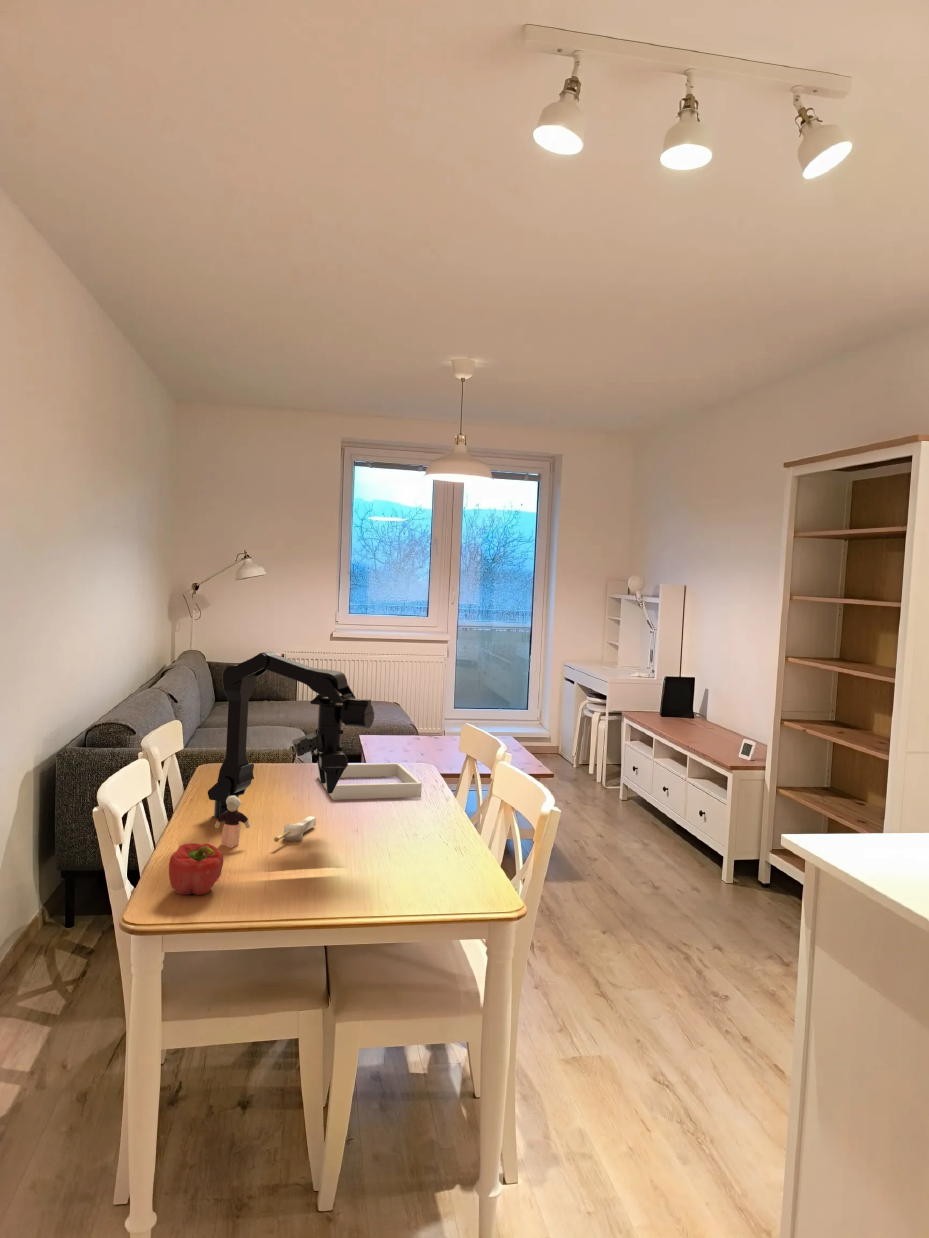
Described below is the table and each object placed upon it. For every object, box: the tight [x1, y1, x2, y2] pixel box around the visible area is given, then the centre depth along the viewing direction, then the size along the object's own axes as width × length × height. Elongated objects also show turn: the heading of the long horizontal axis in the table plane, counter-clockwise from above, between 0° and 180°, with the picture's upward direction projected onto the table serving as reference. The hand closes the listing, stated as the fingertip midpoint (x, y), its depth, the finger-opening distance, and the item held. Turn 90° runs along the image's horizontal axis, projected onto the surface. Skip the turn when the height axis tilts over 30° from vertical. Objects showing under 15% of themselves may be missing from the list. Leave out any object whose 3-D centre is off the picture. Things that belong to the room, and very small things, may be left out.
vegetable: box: [168, 843, 224, 896], centre depth 161 cm, size 11×10×10 cm
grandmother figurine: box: [214, 795, 251, 848], centre depth 185 cm, size 8×4×13 cm, turn 105°
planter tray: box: [317, 762, 423, 801], centre depth 249 cm, size 26×26×4 cm
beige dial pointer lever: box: [273, 815, 317, 843], centre depth 193 cm, size 19×4×3 cm, turn 165°
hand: (326, 788), depth 199 cm, fingers open, 9 cm apart
